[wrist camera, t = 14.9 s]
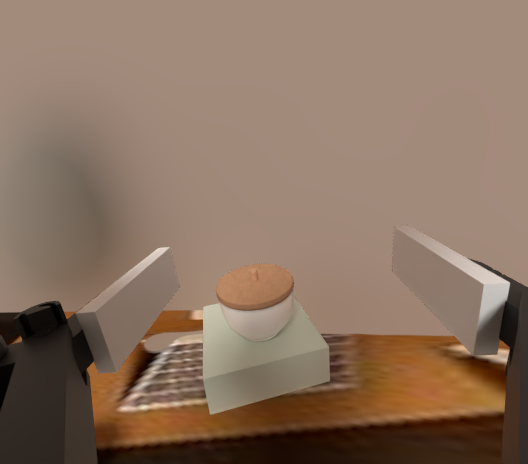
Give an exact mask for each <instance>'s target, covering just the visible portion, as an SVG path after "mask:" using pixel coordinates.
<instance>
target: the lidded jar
mask: <svg viewBox="0 0 528 464" xmlns="http://www.w3.org/2000/svg"><path fill="white" fill-rule="evenodd" d="M293 287H294V282H293V277H292V275H291V273H290V272H289V271H287V270H286V269H285V268H282V267H280V266H277V265H271V264H255V265H248V266H244V267H241V268H238V269H235V270H233V271H231V272H229V273H227V274H226V275H225V276H223V277H222V278H221V279H220V281H219V282H218V284H217V286H216V293H217V297H218V300H219V304H220V308H221V311H222V314H223V316H224V318H225V320H226V322H227V324H228V325H229V326H230V328H231V329H232V330H233V331H234V332H236V333H237V334H238V335H240V336H242V337H244V338H246V339H247V340H250V341H255V342H261V341H266V340H269V339H271V338H273V337H275V336H276V335H277V334H278V333H279V332H280V331H281V330H282V329H283V328H284V327H285V325H286V324H287V322H288V321H289V319H290V316H291V313H292V309H293V301H294V295H293Z"/></svg>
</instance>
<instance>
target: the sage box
mask: <svg viewBox="0 0 528 464" xmlns="http://www.w3.org/2000/svg"><path fill="white" fill-rule="evenodd" d="M293 295H294V294H293ZM329 381H330V361H329V346H328V345H327V343H326V342H325V340H324V339H323V337H322V336H321V334H320V333H319V331H318V330H317V328H316V327H315V325H314V324H313V323H312V321H311V320H310V318H309V317H308V315H307V314H306V312H305V311H304V309H303V308H302V307H301V305H300V303H299V302H298V300H297V299H296V297H295V296H294V301H293V309H292V313H291V316H290V319H289V321H288V322H287V324H286V325H285V327H284V328H283V329H282V330H281V331H280V332H279V333H278V334H277V335H276V336H275V337H273V338H271V339H269V340H266V341H261V342H255V341H250V340H247V339H246V338H244V337H242V336H240V335H238V334H237V333H236V332H234V331H233V330H232V329H231V328H230V326H229V325H228V324H227V322H226V320H225V318H224V316H223V314H222V311H221V308H220V304H214V305H209V306H204V307H203V382H204V387H205V392H206V397H207V402H208V407H209V412H210V415H212V414H215V413H219V412H222V411H226V410H230V409H233V408H237V407H240V406H244V405H247V404H251V403H254V402H258V401H262V400H265V399H269V398H272V397H276V396H279V395H283V394H286V393H290V392H293V391H297V390H301V389H304V388H308V387H311V386H315V385H318V384H322V383H325V382H329Z"/></svg>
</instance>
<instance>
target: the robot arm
mask: <svg viewBox="0 0 528 464" xmlns="http://www.w3.org/2000/svg"><path fill="white" fill-rule="evenodd" d="M392 271H393V272H394V273H395V274H396V275H397V276H398V277H399V278H400V280H402V281H403V283H404V284H405V285H406V286H407V287H408V288H409V289H410V290H411V291H412V292H413V293H414V294H415V295H416V296H417V297H418V298H419V299H420V300H421V301H422V303H424V305H425V306H426V307H427V308H428V309H429V310H430V311H431V312H432V313H433V314H434V315H435V316H436V317H437V318H438V319H439V320H440V321H441V322H442V323H443V324H444V325H445V327H446V328H447V329H448V330H449V331H450V332H451V333H452V334H453V335H454V336H455V337H456V338H457V339H458V340H459V341H460V342H461V343H462V344H463V345H464V346H465V347H466V349H467V350H468V351H469V352H470V353H471V354H472V355H473V356H475V355H496V354H497V352H498V346H499V341H500V340H502V341H503V342H504V343H505V344H506V345H508V346H509V347H510V351H509V356H508V361H507V366H506V371H505V376H507V384H506V399H505V414H504V429H503V444H502V459H501V464H528V287H526V286H524V285H522V284H520V283H518V282H517V281H515V280H513V279H511V278H509V277H507V276H506V275H502V274H501V273H500V272H498V271H496V270H493V269H492V268H491V267H489V266H487V265H485V264H483V263H481V262H478V261H475V260H472V259H469V258H468V259H467V258H465V257H464V256H462V255H460V254H458V253H456V252H455V251H453V250H451V249H449V248H447V247H446V246H444V245H442V244H440V243H439V242H437V241H435V240H433V239H432V238H430V237H428V236H426V235H424V234H423V233H421V232H419V231H417V230H416V229H414V228H412V227H410V226H408V225H403V226H394V228H393V258H392ZM179 288H180V285H179V281H178V277H177V272H176V269H175V264H174V260H173V256H172V252H171V248H170V247H165V248H158V249H157V250H155V251H154V252H153V253H152V254H150V255H149V256H148V257H147V258H145V259H144V260H143V261H141V262H140V263H139V264H138V265H136V266H135V267H134V268H132V269H131V270H130V271H129V272H127V273H126V274H125V275H124V276H122V277H121V278H120V279H118V280H117V281H116V282H115V283H113V284H112V285H111V286H110V287H108V288H107V289H106V290H104V291H103V292H102V293H101V294H99V295H98V296H96V297H95V298H94V299H93V300H92V301H90V302H89V303H87V304H86V305H85V306H84V307H82V308H81V309H80V310H79V311H77V312H76V313H75V314H73V315H72V316H71V317H70V318H68V319H66V316H65V314H64V311H63V309H62V306H61V304H60V302H59V301H50V302H45V303H42V304H38V305H36V306H33V307H31V308H29V309H27V310H25V311H23V312H21V313H20V314H18V315H17V316H16V317H15V318H14V319H13V320H14V323H15V325H16V327H17V329H18V331H19V333H20V335H21V337H22V342H19V343H15V344H11V345H6V343H5V341H4V339H3V337H2V336H1V335H0V464H98V462H97V451H96V440H95V430H94V419H93V408H92V397H91V386H90V376H89V374H88V371H87V368H88V367H89V366H90V364H91V363H92V362H93V361H94V363H95V365H96V368H97V371H98V373H113V372H117V371H118V370H119V369H120V367H121V366H122V365H123V363H124V362H125V360H126V359H127V358H128V356H129V355H130V354H131V352H132V351H133V350H134V348H135V347H136V346H137V344H138V343H139V342H140V340H141V339H142V338H143V336H144V335H145V334H146V332H147V331H148V330H149V328H150V327H151V325H152V324H153V323H154V321H155V320H156V319H157V317H158V316H159V315H160V313H161V312H162V311H163V309H164V308H165V307H166V305H167V304H168V303H169V301H170V300H171V299H172V297H173V296H174V294H175V293H176V292H177V290H178V289H179Z"/></svg>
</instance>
